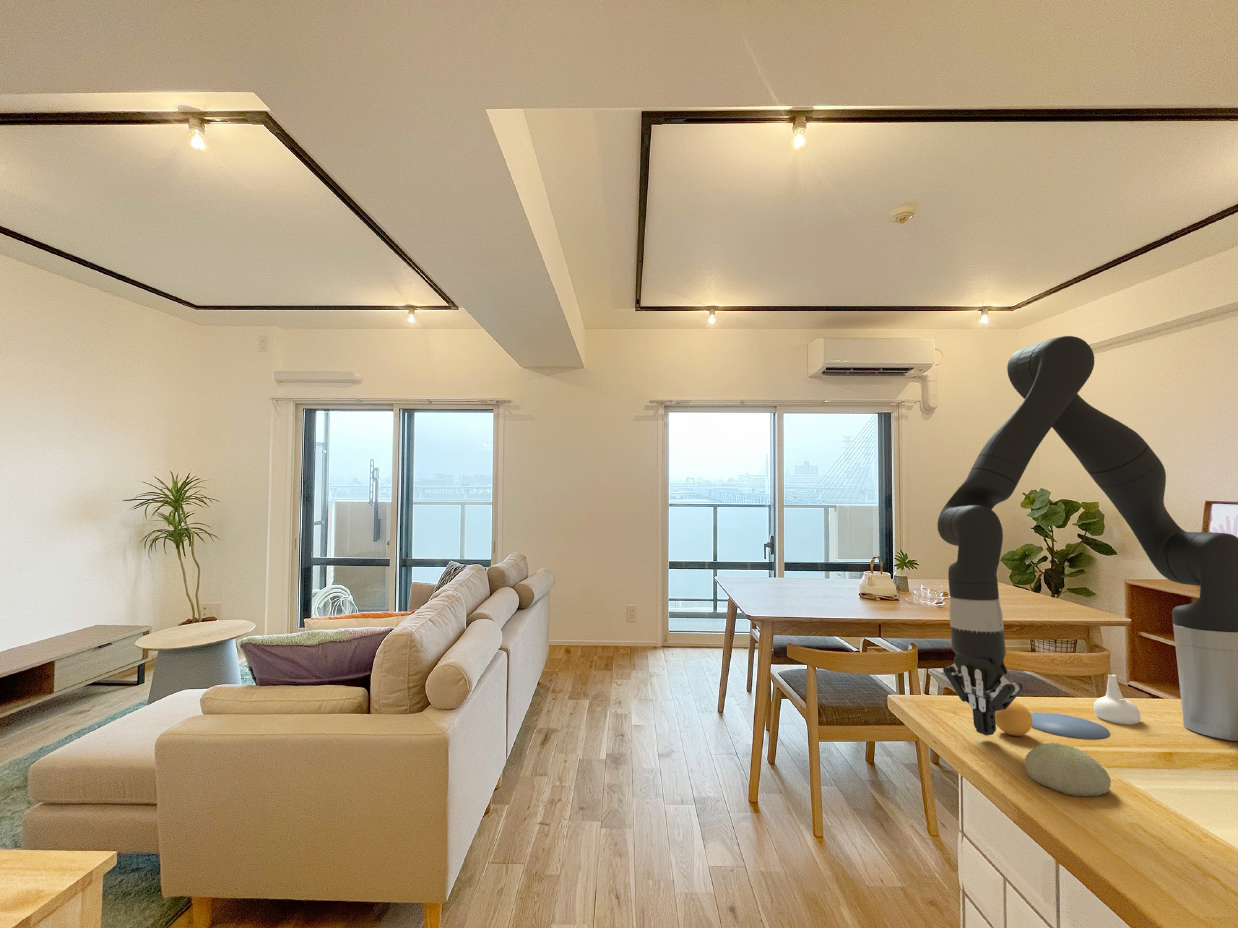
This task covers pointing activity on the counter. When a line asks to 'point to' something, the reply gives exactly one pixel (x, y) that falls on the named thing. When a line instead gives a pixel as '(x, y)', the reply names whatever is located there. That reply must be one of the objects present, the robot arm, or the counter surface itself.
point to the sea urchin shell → (1067, 770)
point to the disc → (1068, 726)
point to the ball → (1014, 719)
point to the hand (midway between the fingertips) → (985, 733)
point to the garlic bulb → (1116, 706)
